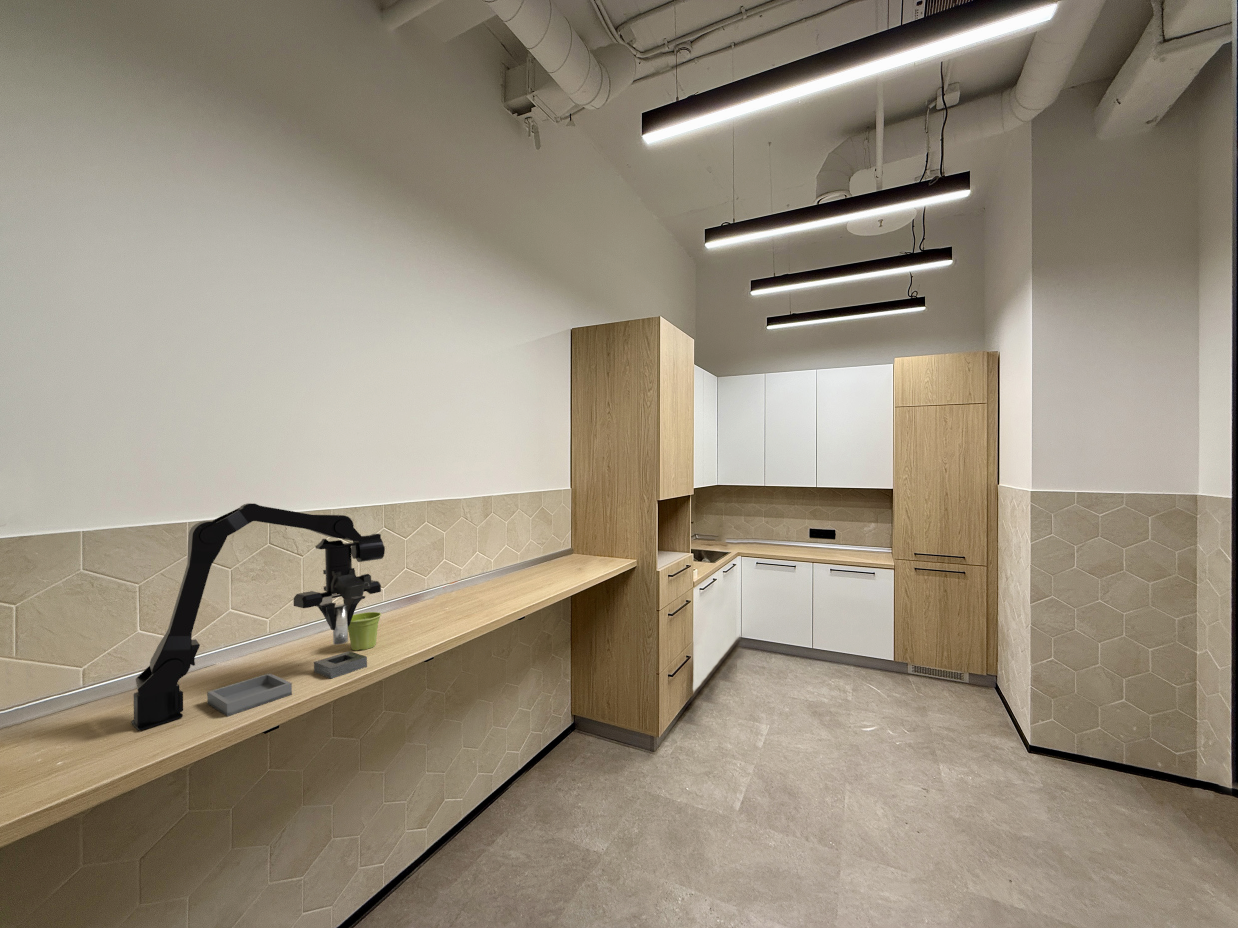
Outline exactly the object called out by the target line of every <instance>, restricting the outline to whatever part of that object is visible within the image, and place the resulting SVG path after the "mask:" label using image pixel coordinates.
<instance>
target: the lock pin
mask: <svg viewBox="0 0 1238 928" xmlns="http://www.w3.org/2000/svg"><path fill="white" fill-rule="evenodd" d="M334 617H335V630H332V643H333V645H342V644H346V643H348V642H349V632H348V620H347V604H344V603H341V604H336V605H335V607H334Z"/></svg>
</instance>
